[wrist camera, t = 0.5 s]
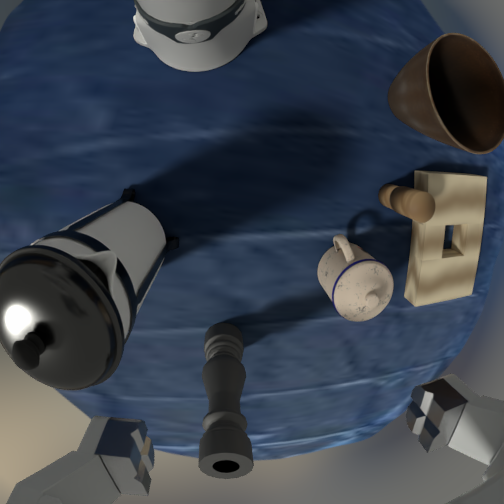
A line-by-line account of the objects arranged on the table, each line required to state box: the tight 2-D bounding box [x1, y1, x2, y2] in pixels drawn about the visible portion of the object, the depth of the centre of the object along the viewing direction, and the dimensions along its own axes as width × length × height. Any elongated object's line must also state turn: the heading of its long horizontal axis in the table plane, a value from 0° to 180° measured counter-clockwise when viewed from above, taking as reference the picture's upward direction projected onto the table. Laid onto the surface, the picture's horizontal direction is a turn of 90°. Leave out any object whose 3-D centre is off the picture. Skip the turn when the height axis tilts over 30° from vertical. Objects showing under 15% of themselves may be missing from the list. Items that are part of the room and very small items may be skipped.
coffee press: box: [0, 189, 179, 390], centre depth 30 cm, size 17×16×30 cm
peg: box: [378, 184, 436, 223], centre depth 40 cm, size 4×4×10 cm
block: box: [404, 171, 487, 307], centre depth 46 cm, size 22×14×4 cm, turn 3°
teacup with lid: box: [318, 234, 393, 321], centre depth 42 cm, size 12×9×12 cm
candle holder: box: [199, 323, 254, 479], centre depth 38 cm, size 6×6×25 cm
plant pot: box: [388, 33, 504, 154], centre depth 32 cm, size 15×15×16 cm
